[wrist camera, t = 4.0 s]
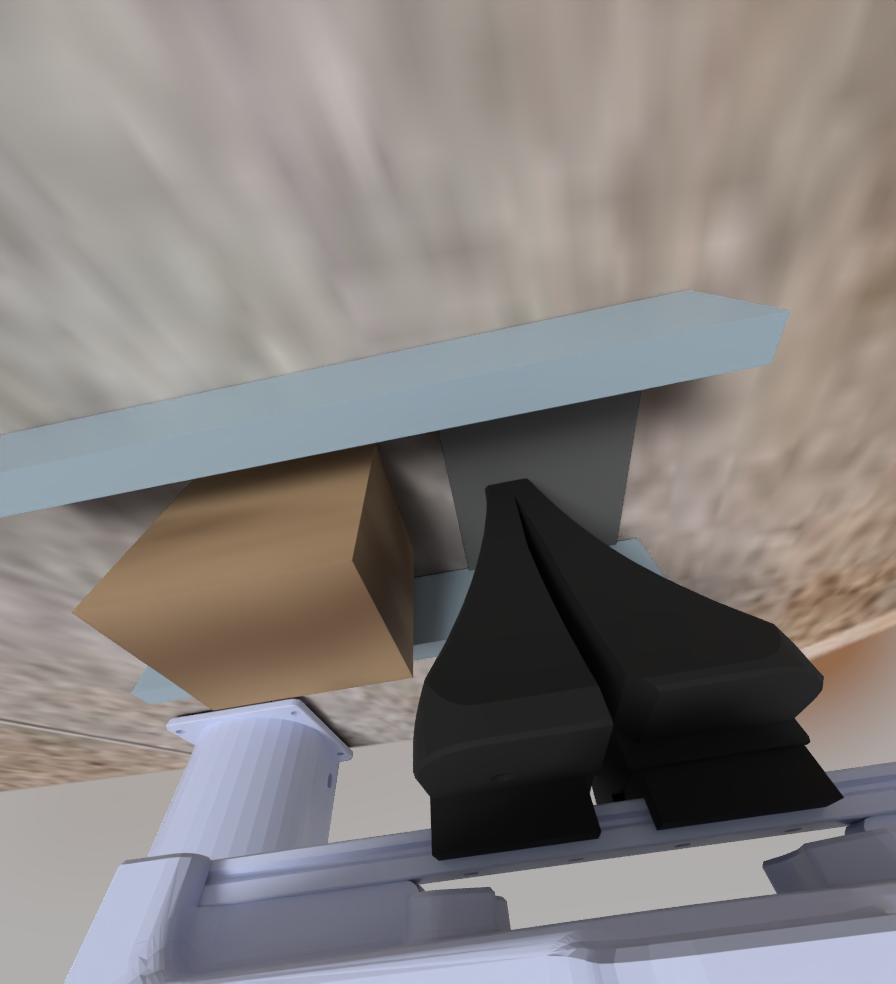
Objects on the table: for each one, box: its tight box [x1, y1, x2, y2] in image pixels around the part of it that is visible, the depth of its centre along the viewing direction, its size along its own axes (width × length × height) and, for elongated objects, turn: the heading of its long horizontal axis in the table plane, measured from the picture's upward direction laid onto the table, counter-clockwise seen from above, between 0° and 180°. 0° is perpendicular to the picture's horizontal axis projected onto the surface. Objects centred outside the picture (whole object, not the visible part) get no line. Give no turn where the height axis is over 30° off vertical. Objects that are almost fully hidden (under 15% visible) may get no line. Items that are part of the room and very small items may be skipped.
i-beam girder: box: [0, 290, 791, 704], centre depth 11 cm, size 10×20×3 cm, turn 100°
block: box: [72, 443, 414, 711], centre depth 11 cm, size 5×6×5 cm
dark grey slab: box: [438, 390, 641, 571], centre depth 12 cm, size 8×6×1 cm
